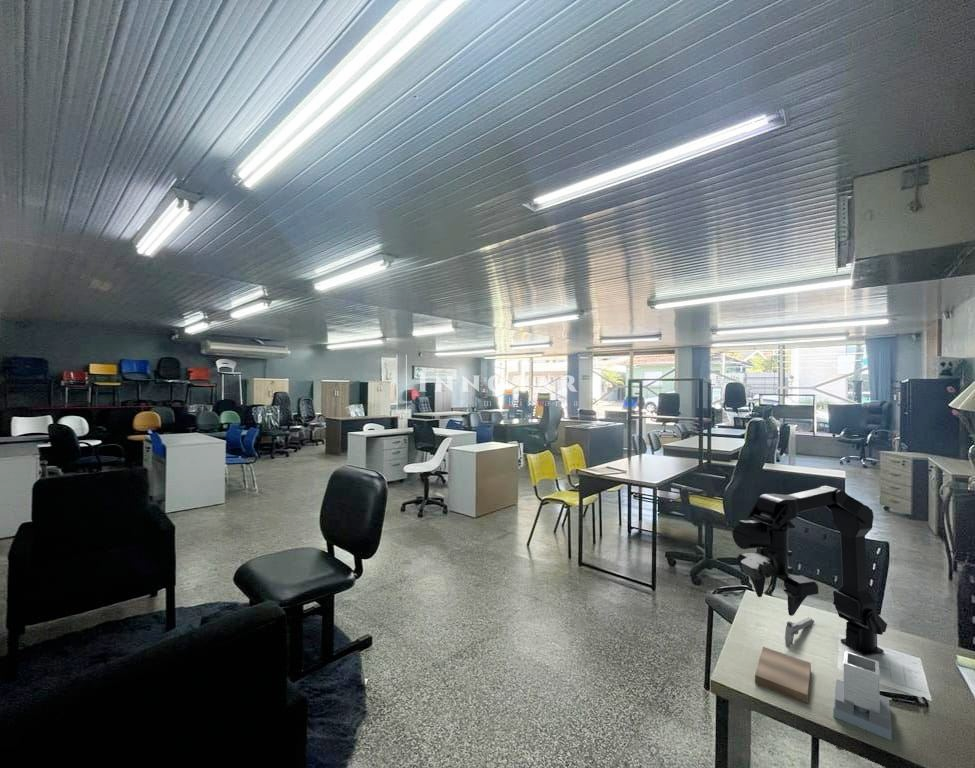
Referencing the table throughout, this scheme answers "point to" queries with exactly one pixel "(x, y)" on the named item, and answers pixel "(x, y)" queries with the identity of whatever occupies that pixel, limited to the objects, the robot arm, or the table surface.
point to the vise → (863, 714)
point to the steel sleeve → (861, 681)
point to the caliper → (795, 629)
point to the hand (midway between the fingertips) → (774, 605)
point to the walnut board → (784, 674)
